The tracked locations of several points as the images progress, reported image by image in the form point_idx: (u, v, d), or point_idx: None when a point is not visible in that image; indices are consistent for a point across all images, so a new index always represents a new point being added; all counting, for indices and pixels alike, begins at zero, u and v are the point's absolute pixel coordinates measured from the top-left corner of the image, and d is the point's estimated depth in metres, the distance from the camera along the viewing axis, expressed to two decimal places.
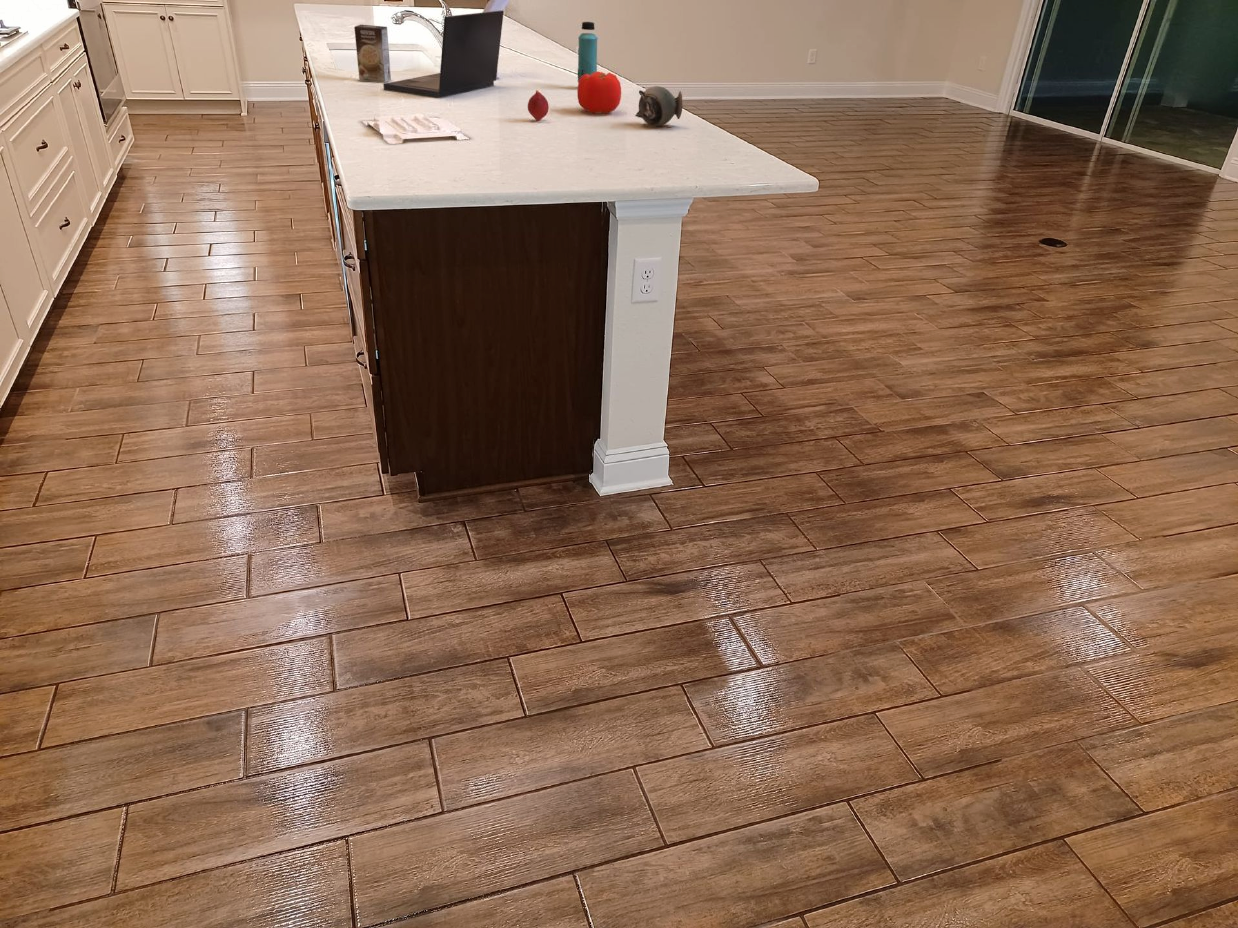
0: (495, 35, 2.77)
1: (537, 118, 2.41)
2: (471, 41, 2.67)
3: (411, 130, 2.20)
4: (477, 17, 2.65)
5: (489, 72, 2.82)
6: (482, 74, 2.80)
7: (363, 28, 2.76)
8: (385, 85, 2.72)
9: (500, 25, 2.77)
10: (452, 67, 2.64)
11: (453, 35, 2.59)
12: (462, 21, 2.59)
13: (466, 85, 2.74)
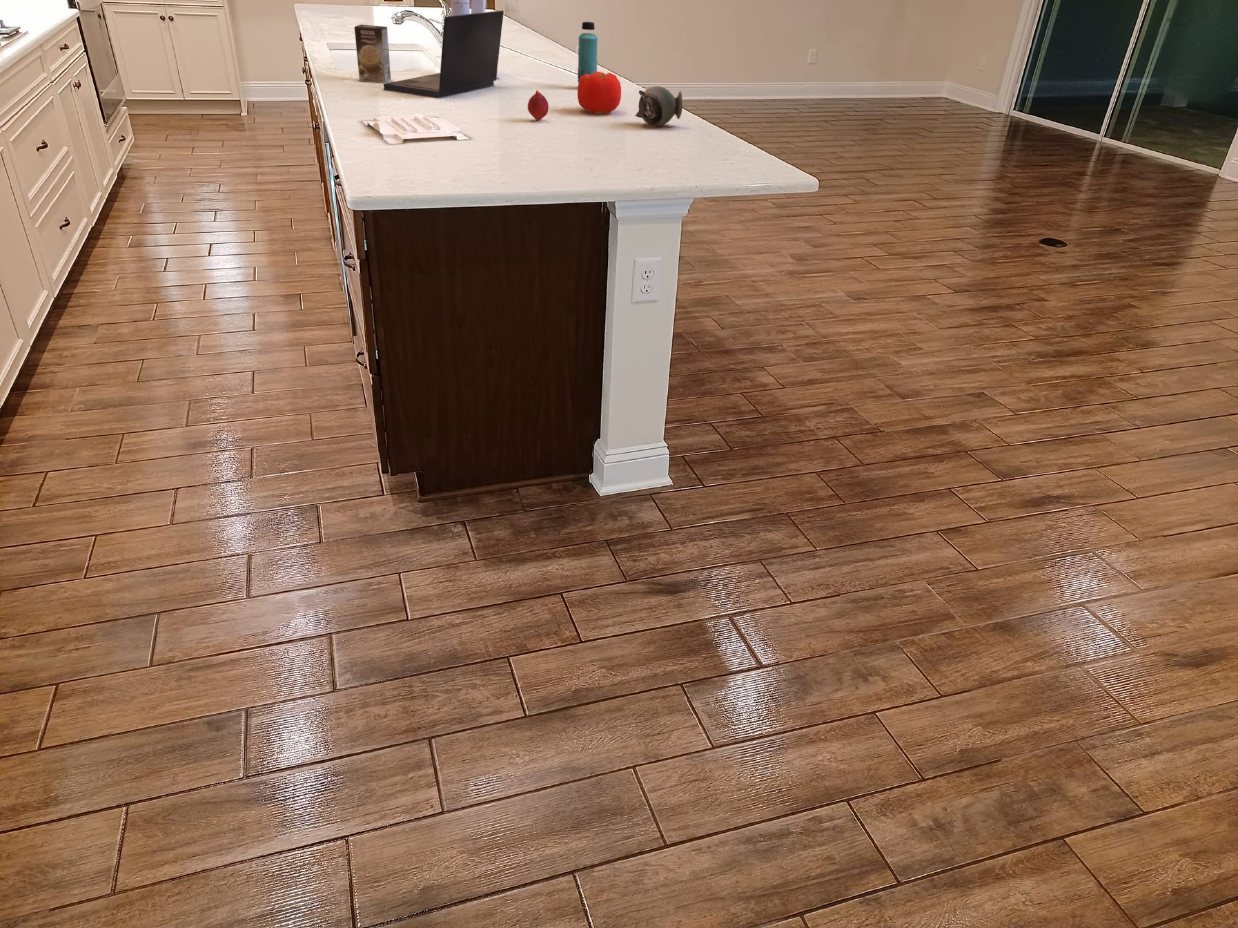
0: (495, 35, 2.77)
1: (537, 118, 2.41)
2: (471, 41, 2.67)
3: (411, 130, 2.20)
4: (477, 17, 2.65)
5: (489, 72, 2.82)
6: (482, 74, 2.80)
7: (363, 28, 2.76)
8: (385, 85, 2.72)
9: (500, 25, 2.77)
10: (452, 67, 2.64)
11: (453, 35, 2.59)
12: (462, 21, 2.59)
13: (466, 85, 2.74)
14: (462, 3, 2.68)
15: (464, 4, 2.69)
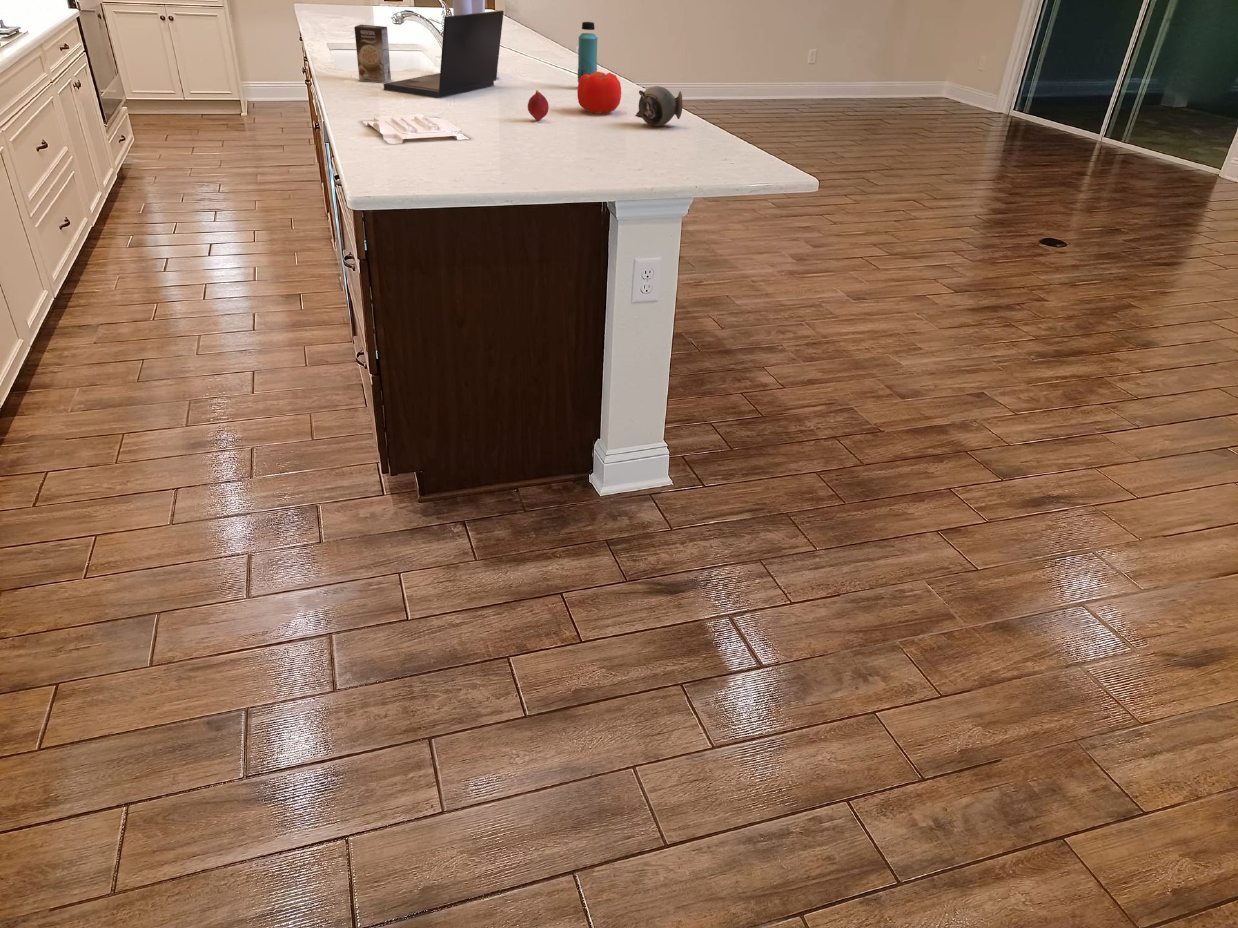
0: (495, 35, 2.77)
1: (537, 118, 2.41)
2: (471, 41, 2.67)
3: (411, 130, 2.20)
4: (477, 17, 2.65)
5: (489, 72, 2.82)
6: (482, 74, 2.80)
7: (363, 28, 2.76)
8: (385, 85, 2.72)
9: (500, 25, 2.77)
10: (452, 67, 2.64)
11: (453, 35, 2.59)
12: (462, 21, 2.59)
13: (466, 85, 2.74)
14: None
15: None
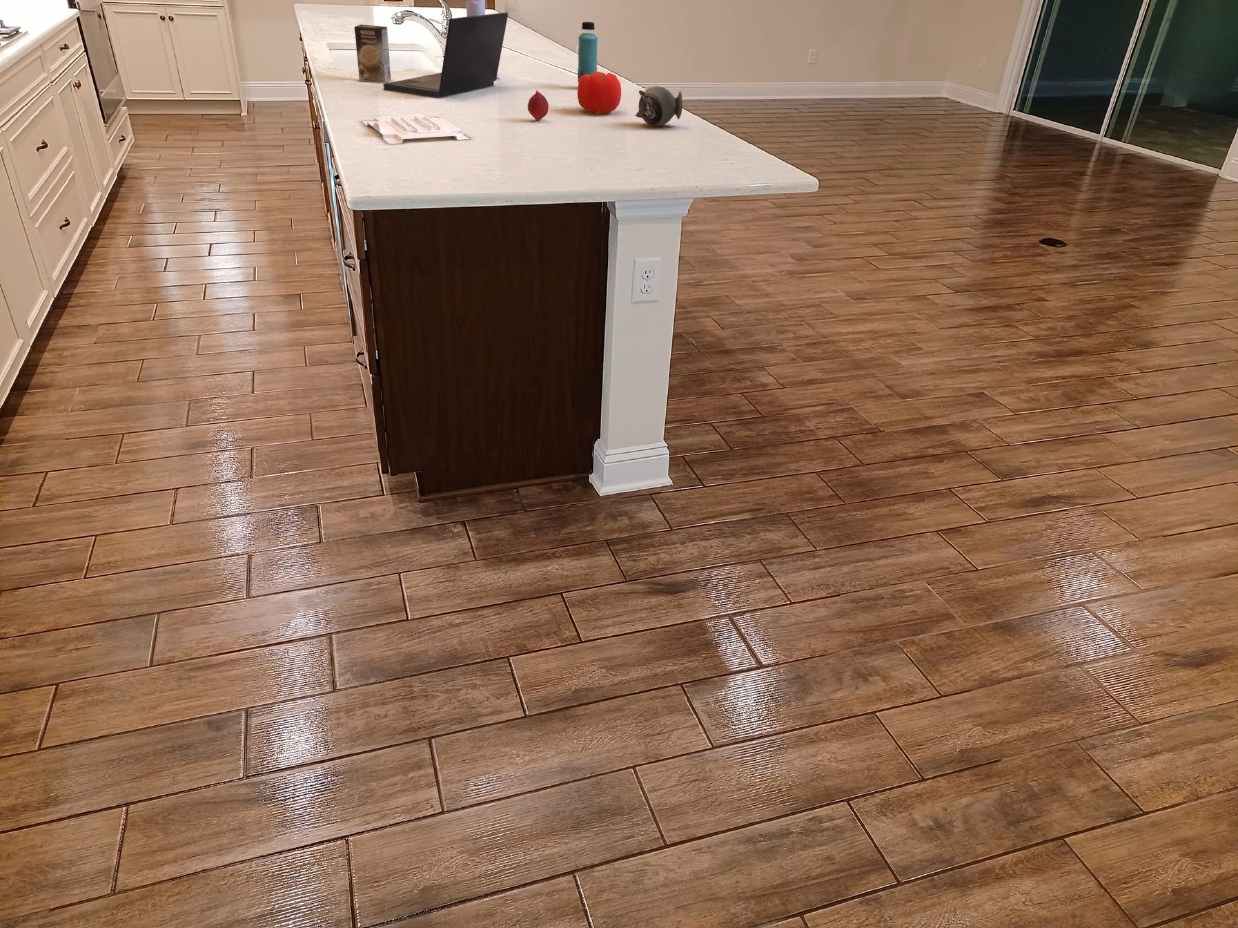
0: (498, 36, 2.77)
1: (537, 118, 2.41)
2: (474, 42, 2.67)
3: (411, 130, 2.20)
4: (482, 19, 2.65)
5: (490, 73, 2.82)
6: (483, 75, 2.79)
7: (363, 28, 2.76)
8: (385, 85, 2.72)
9: (504, 27, 2.77)
10: (454, 68, 2.64)
11: (457, 37, 2.58)
12: (467, 23, 2.59)
13: (466, 85, 2.75)
14: None
15: None
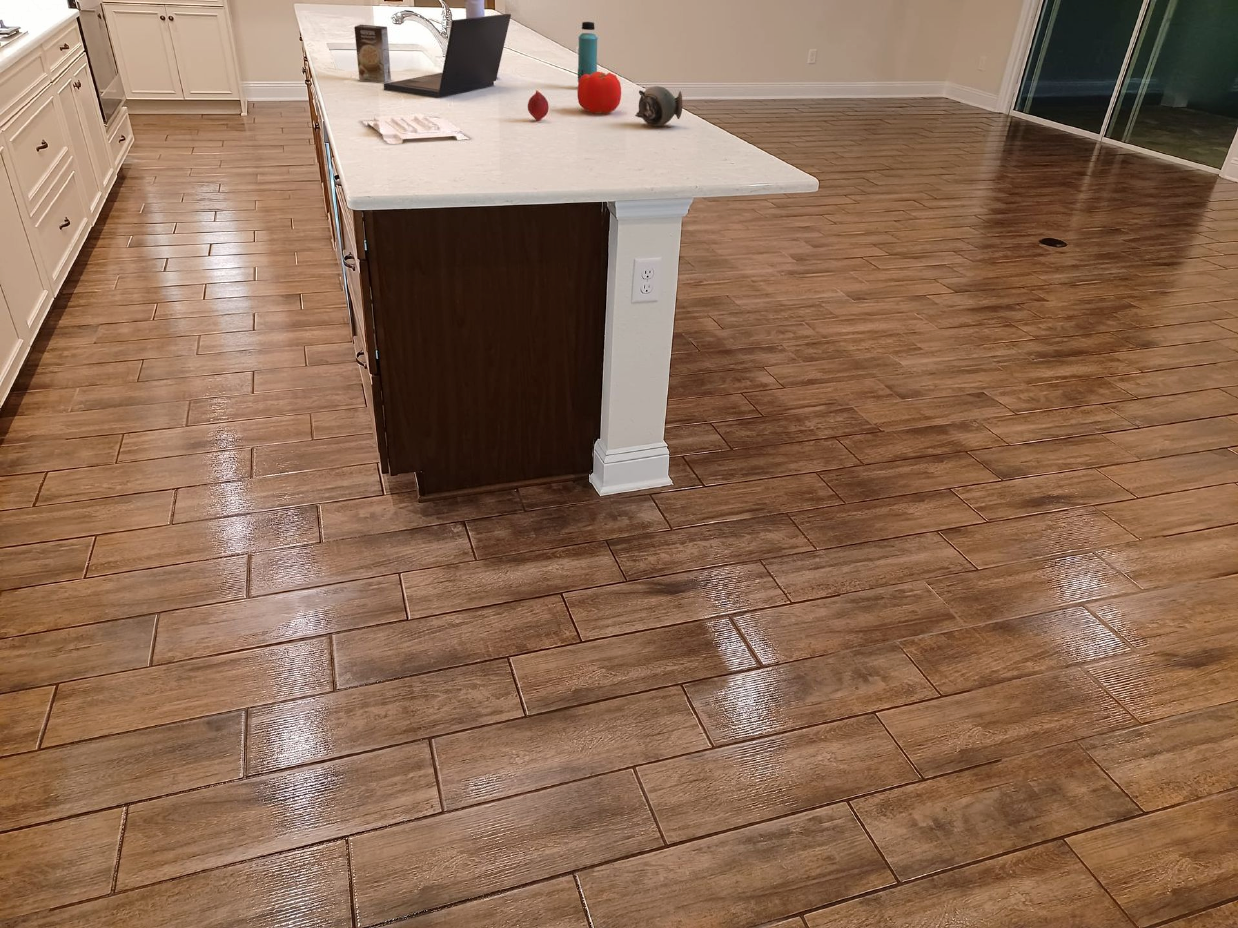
0: (500, 38, 2.77)
1: (537, 118, 2.41)
2: (476, 43, 2.67)
3: (411, 130, 2.20)
4: (484, 21, 2.64)
5: (490, 73, 2.82)
6: (483, 75, 2.79)
7: (363, 28, 2.76)
8: (385, 85, 2.72)
9: (506, 28, 2.77)
10: (454, 68, 2.64)
11: (459, 38, 2.58)
12: (469, 24, 2.59)
13: (466, 85, 2.75)
14: None
15: None
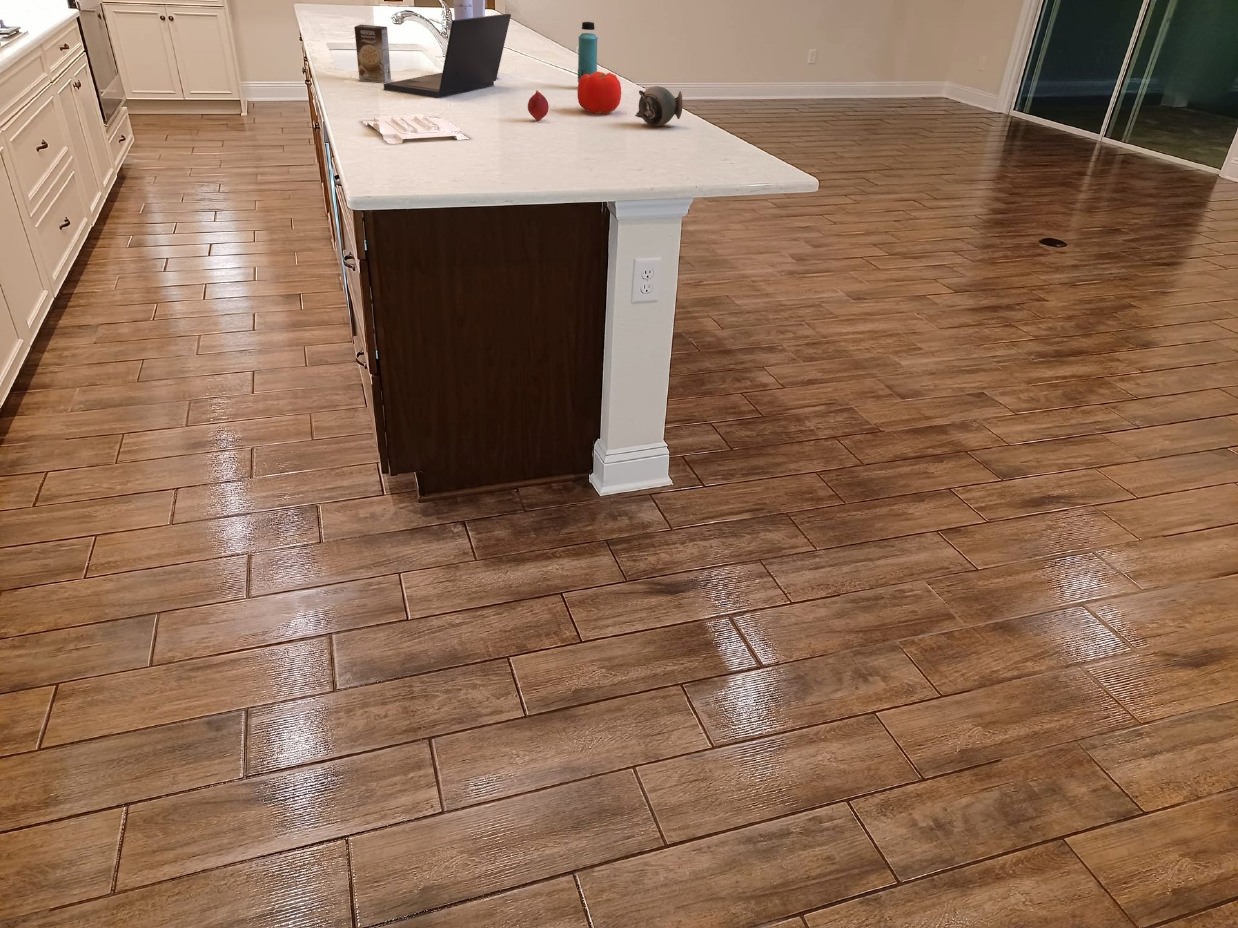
0: (500, 38, 2.77)
1: (537, 118, 2.41)
2: (476, 43, 2.67)
3: (411, 130, 2.20)
4: (484, 21, 2.64)
5: (490, 73, 2.82)
6: (483, 75, 2.79)
7: (363, 28, 2.76)
8: (385, 85, 2.72)
9: (506, 28, 2.77)
10: (454, 68, 2.64)
11: (459, 38, 2.58)
12: (469, 24, 2.59)
13: (466, 85, 2.75)
14: (465, 6, 2.69)
15: (467, 7, 2.69)
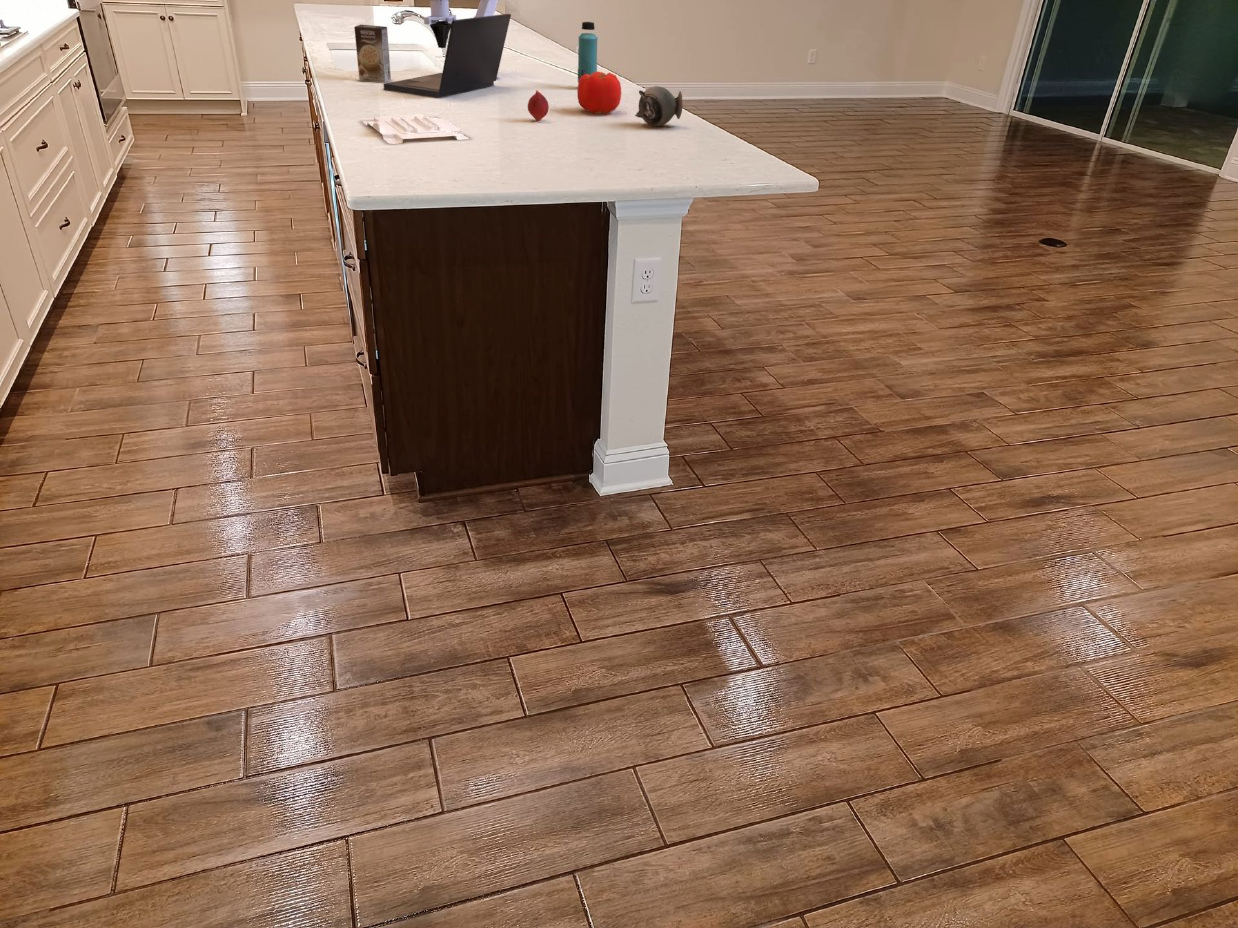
0: (500, 38, 2.77)
1: (537, 118, 2.41)
2: (476, 43, 2.67)
3: (411, 130, 2.20)
4: (484, 21, 2.64)
5: (490, 73, 2.82)
6: (483, 75, 2.79)
7: (363, 28, 2.76)
8: (385, 85, 2.72)
9: (506, 28, 2.77)
10: (454, 68, 2.64)
11: (459, 38, 2.58)
12: (469, 24, 2.59)
13: (466, 85, 2.75)
14: (441, 1, 2.75)
15: (443, 2, 2.76)
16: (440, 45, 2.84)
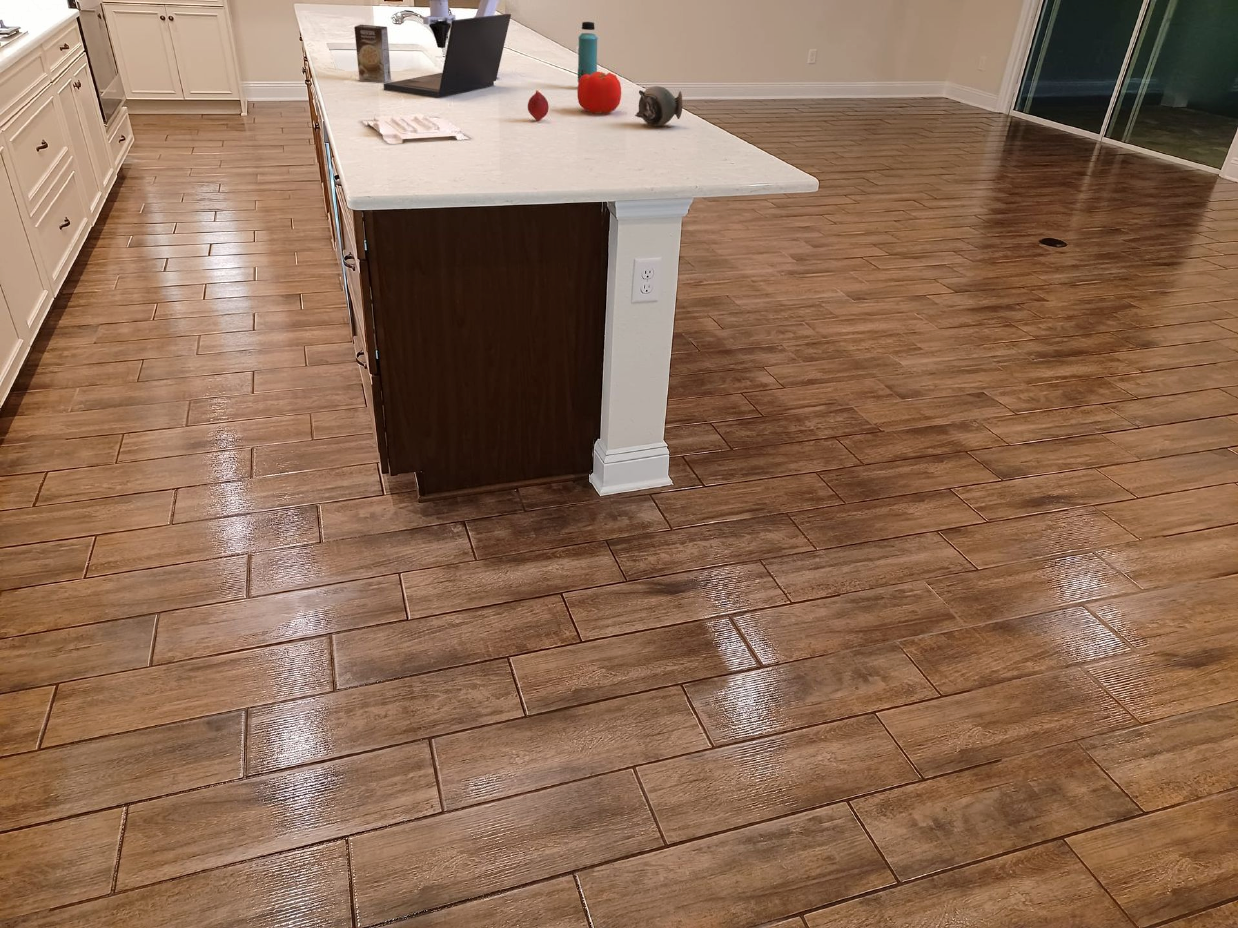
0: (500, 38, 2.77)
1: (537, 118, 2.41)
2: (476, 43, 2.67)
3: (411, 130, 2.20)
4: (484, 21, 2.64)
5: (490, 73, 2.82)
6: (483, 75, 2.79)
7: (363, 28, 2.76)
8: (385, 85, 2.72)
9: (506, 28, 2.77)
10: (454, 68, 2.64)
11: (459, 38, 2.58)
12: (469, 24, 2.59)
13: (466, 85, 2.75)
14: (441, 1, 2.75)
15: (442, 2, 2.76)
16: (439, 45, 2.84)
